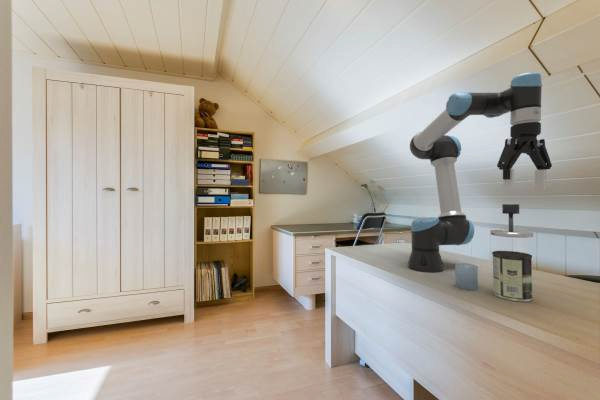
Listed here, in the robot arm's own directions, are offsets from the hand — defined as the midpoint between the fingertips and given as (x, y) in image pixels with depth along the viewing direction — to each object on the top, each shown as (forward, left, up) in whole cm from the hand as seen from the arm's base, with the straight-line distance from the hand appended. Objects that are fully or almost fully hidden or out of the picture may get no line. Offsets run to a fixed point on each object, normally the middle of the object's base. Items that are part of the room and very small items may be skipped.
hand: (524, 190), depth 86 cm
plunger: (-2, -3, -15) cm, 15 cm away
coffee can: (-2, -3, -35) cm, 35 cm away
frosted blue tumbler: (-13, -10, -35) cm, 39 cm away
